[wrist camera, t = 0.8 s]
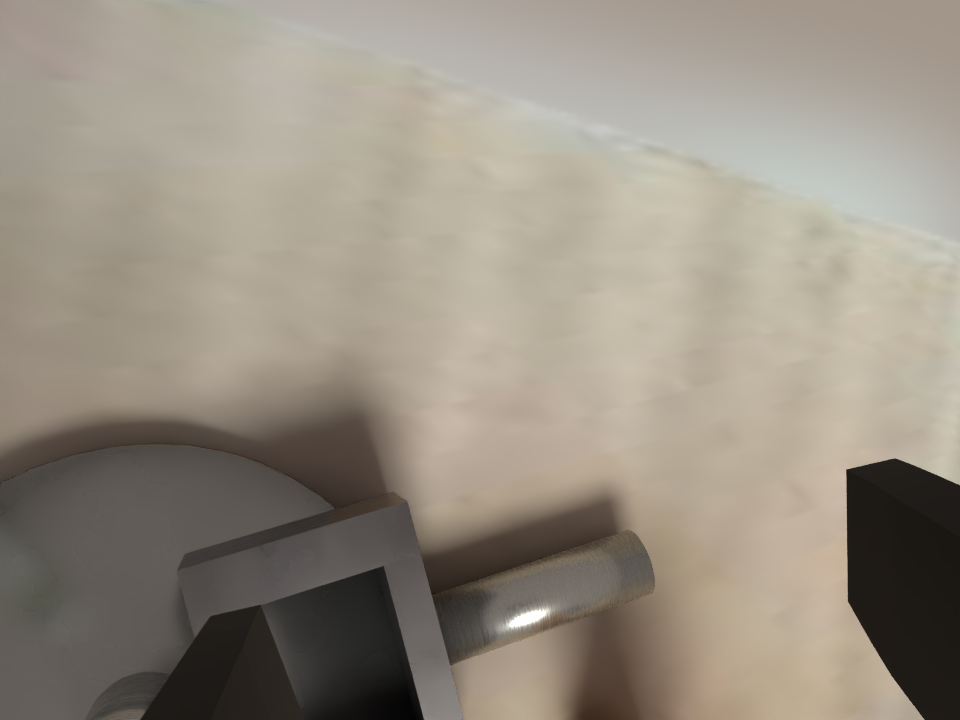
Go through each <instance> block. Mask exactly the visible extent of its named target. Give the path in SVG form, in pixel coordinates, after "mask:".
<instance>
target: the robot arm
mask: <svg viewBox="0 0 960 720" xmlns="http://www.w3.org/2000/svg"><path fill="white" fill-rule="evenodd" d="M846 475H847V558H848V602H849V604H850V606H851V607H852V609H853V611H854V613H855V614H856V616H857V618H858V620H859V622H860V623H861V625H862V627H863V629H864V630H865V632H866V634H867V636H868V637H869V639H870V641H871V643H872V644H873V646H874V648H875V649H876V651H877V653H878V654H879V656H880V658H881V659H882V661H883V662H884V664H885V666H886V667H887V669H888V671H889V672H890V674H891V676H892V677H893V678H894V680H895V681H896V682H897V684H898V685H899V686H900V688H901V689H902V690H903V692H904V693H905V694H906V696H907V697H908V698H909V700H910V701H911V702H912V704H913V705H914V706H915V708H916V709H917V710H918V711H919V713H920V714H921V715H922V717H923V718H924V719H925V720H960V485H958V484H955V483H953V482H951V481H949V480H946V479H944V478H942V477H940V476H937V475H935V474H933V473H930V472H928V471H926V470H923V469H921V468H918V467H916V466H914V465H911V464H909V463H906V462H903V461H901V460H898V459H890V460H886V461H882V462H877V463H873V464H869V465H864V466H860V467H856V468H851V469H847V470H846ZM140 720H304V718H303V715H302V712H301V710H300V707H299V704H298V702H297V699H296V696H295V694H294V691H293V688H292V686H291V683H290V680H289V678H288V675H287V673H286V670H285V667H284V665H283V662H282V659H281V657H280V654H279V651H278V649H277V646H276V643H275V641H274V638H273V635H272V633H271V630H270V628H269V625H268V622H267V620H266V617H265V614H264V612H263V609H262V606H261V605H256V606H252V607H248V608H243V609H239V610H235V611H230V612H226V613H222V614H217V615H213V616H210V617H209V619H208V620H207V622H206V623H205V625H204V626H203V627H202V629H201V630H200V632H199V633H198V635H197V636H196V638H195V639H194V640H193V642H192V643H191V645H190V646H189V648H188V649H187V651H186V652H185V654H184V655H183V657H182V658H181V660H180V661H179V663H178V664H177V666H176V667H175V669H174V670H173V672H172V673H171V675H170V676H169V678H168V679H167V681H166V682H165V684H164V685H163V687H162V688H161V690H160V691H159V692H158V694H157V695H156V697H155V698H154V700H153V701H152V703H151V704H150V706H149V707H148V709H147V710H146V712H145V713H144V715H143V716H142V718H141V719H140Z"/></svg>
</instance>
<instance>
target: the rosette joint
mask: <svg viewBox="0 0 960 720" xmlns="http://www.w3.org/2000/svg"><path fill="white" fill-rule="evenodd" d="M654 586H655V579H654V572H653V568H652V564H651V561H650V558H649V556H648V554H647V551H646V549H645V547H644V545H643V544H642V542H641V540H640V539H639V538H638V536H637V535H636V534H635V533H634V532H632V531H630V530H626V531H623V532H620V533H617V534H614V535H611V536H608V537H605V538H602V539H599V540H596V541H593V542H589V543H586V544H583V545H580V546H577V547H574V548H571V549H568V550H565V551H562V552H559V553H556V554H553V555H550V556H547V557H544V558H541V559H538V560H535V561H532V562H529V563H526V564H523V565H520V566H517V567H514V568H511V569H508V570H505V571H502V572H499V573H496V574H493V575H490V576H487V577H484V578H481V579H478V580H475V581H472V582H469V583H466V584H463V585H460V586H457V587H454V588H451V589H448V590H445V591H442V592H439V593H436V594H433V595H432V594H431V591H430V587H429V583H428V579H427V575H426V571H425V568H424V564H423V560H422V556H421V552H420V549H419V545H418V541H417V537H416V533H415V530H414V526H413V522H412V518H411V514H410V510H409V507H408V503H407V501H406V500H404V499H403V498H401V497H400V496H398V495H397V494H395V493H394V492H391V493H387V494H384V495H381V496H377V497H374V498H370V499H367V500H364V501H360V502H357V503H354V504H350V505H347V506H344V507H340V508H337V509H335V508H334V507H333V506H332V505H331V504H330V503H328V502H327V501H326V500H325V499H324V498H322V497H321V496H320V495H319V494H317V493H316V492H314V491H312V490H311V489H309V488H308V487H306V486H305V485H303V484H301V483H300V482H298V481H297V480H295V479H294V478H292V477H290V476H288V475H286V474H284V473H282V472H280V471H277V470H275V469H273V468H271V467H269V466H267V465H265V464H262V463H260V462H257V461H254V460H251V459H248V458H245V457H241V456H238V455H235V454H232V453H229V452H225V451H219V450H214V449H208V448H202V447H197V446H191V445H172V444H141V445H127V446H115V447H110V448H105V449H100V450H95V451H90V452H85V453H80V454H76V455H72V456H69V457H66V458H63V459H60V460H57V461H54V462H50V463H47V464H44V465H41V466H38V467H35V468H32V469H30V470H28V471H26V472H24V473H22V474H19V475H17V476H15V477H13V478H11V479H9V480H6V481H4V482H2V483H0V720H140V719H141V718H142V716H143V715H144V713H145V712H146V710H147V709H148V707H149V706H150V704H151V703H152V701H153V700H154V698H155V697H156V695H157V694H158V692H159V691H160V690H161V688H162V687H163V685H164V684H165V682H166V681H167V679H168V678H169V676H170V675H171V673H172V672H173V670H174V669H175V667H176V666H177V664H178V663H179V661H180V660H181V658H182V657H183V655H184V654H185V652H186V651H187V649H188V648H189V646H190V645H191V643H192V642H193V640H194V639H195V638H196V636H197V635H198V633H199V632H200V630H201V629H202V627H203V626H204V625H205V623H206V622H207V620H208V619H209V617H210V616H213V615H217V614H222V613H226V612H230V611H235V610H239V609H243V608H248V607H252V606H256V605H261V606H262V609H263V612H264V614H265V617H266V620H267V622H268V625H269V628H270V630H271V633H272V635H273V638H274V641H275V643H276V646H277V649H278V651H279V654H280V657H281V659H282V662H283V665H284V667H285V670H286V673H287V675H288V678H289V680H290V683H291V686H292V688H293V691H294V694H295V696H296V699H297V702H298V704H299V707H300V710H301V712H302V715H303V718H304V720H464V716H463V713H462V709H461V705H460V701H459V697H458V693H457V690H456V686H455V682H454V678H453V674H452V671H451V667H450V665H452V664H455V663H458V662H460V661H463V660H466V659H469V658H472V657H475V656H477V655H480V654H483V653H486V652H489V651H491V650H494V649H497V648H500V647H503V646H505V645H508V644H511V643H514V642H517V641H520V640H522V639H525V638H528V637H531V636H534V635H536V634H539V633H542V632H545V631H548V630H550V629H553V628H556V627H559V626H562V625H565V624H567V623H570V622H573V621H576V620H579V619H581V618H584V617H587V616H590V615H593V614H595V613H598V612H601V611H604V610H607V609H610V608H612V607H615V606H618V605H621V604H624V603H626V602H629V601H632V600H635V599H638V598H640V597H643V596H646V595H649V594H651V593H652V592H653V591H654Z"/></svg>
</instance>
